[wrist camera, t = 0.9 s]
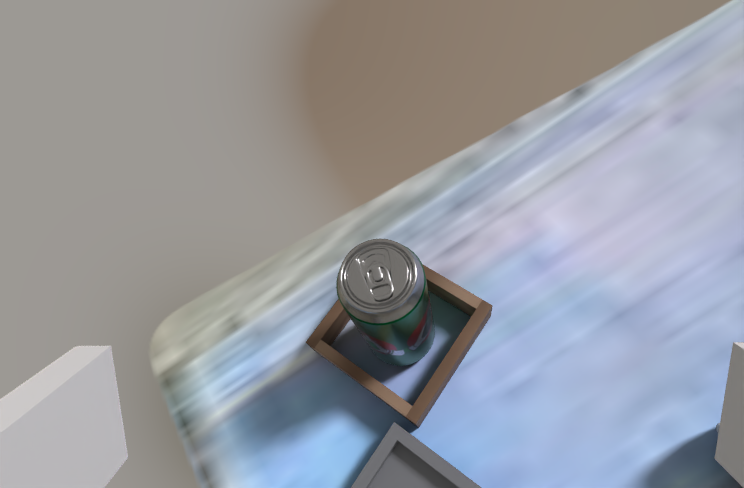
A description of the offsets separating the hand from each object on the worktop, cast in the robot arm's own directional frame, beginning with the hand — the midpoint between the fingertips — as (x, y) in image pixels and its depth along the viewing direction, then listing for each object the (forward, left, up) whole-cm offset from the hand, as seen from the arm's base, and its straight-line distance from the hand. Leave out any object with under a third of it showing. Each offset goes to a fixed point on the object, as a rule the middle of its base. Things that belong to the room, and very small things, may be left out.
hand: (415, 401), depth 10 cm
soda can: (+7, -5, -25) cm, 27 cm away
